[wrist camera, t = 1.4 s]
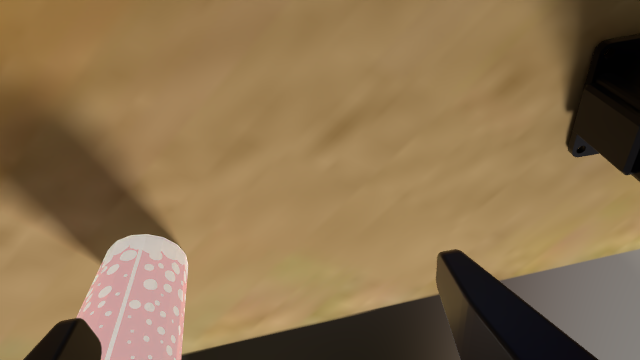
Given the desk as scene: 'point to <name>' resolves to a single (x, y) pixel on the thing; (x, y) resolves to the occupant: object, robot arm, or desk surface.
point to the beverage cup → (139, 299)
